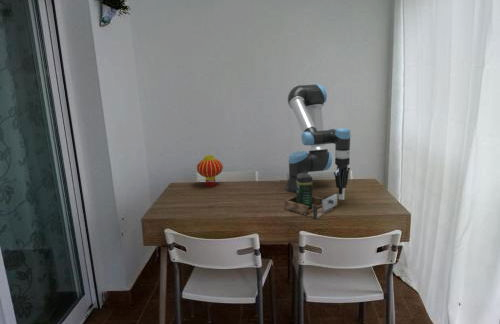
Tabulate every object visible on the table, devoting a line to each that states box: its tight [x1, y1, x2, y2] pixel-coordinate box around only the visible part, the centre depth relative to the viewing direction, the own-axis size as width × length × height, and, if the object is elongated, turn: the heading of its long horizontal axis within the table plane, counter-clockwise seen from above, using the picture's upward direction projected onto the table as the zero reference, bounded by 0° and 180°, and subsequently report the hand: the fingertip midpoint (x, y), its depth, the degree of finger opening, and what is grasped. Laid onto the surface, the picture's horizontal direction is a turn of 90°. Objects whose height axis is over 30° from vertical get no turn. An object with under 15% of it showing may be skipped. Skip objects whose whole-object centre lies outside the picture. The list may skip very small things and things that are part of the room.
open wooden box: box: [284, 194, 334, 220], centre depth 193 cm, size 20×15×6 cm
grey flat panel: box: [322, 193, 338, 212], centre depth 190 cm, size 2×13×6 cm, turn 136°
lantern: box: [196, 146, 224, 187], centre depth 239 cm, size 17×17×30 cm
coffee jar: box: [296, 173, 313, 209], centre depth 193 cm, size 10×8×19 cm
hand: (341, 199), depth 199 cm, fingers closed
